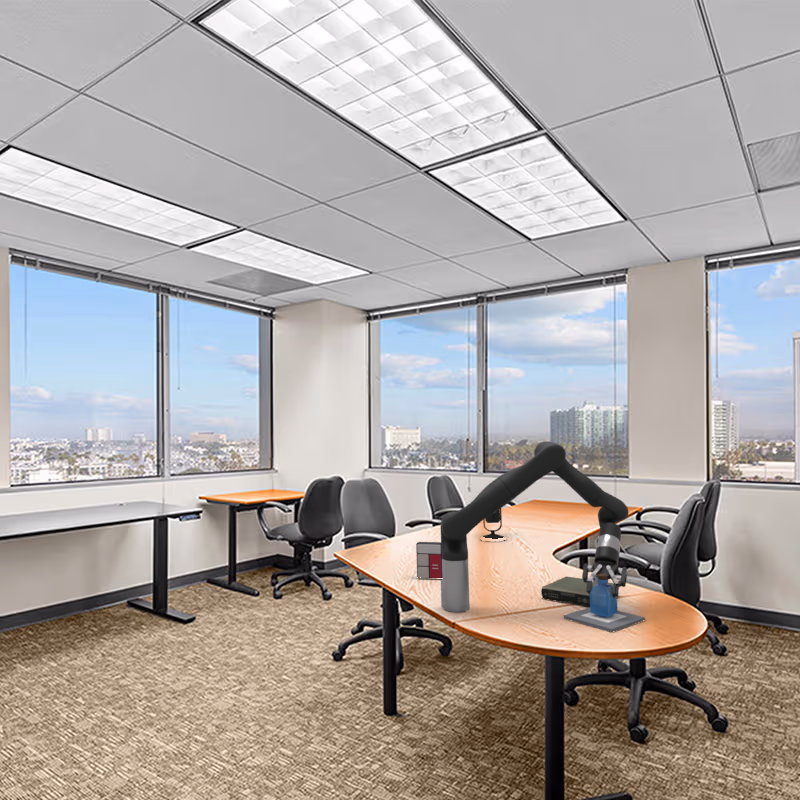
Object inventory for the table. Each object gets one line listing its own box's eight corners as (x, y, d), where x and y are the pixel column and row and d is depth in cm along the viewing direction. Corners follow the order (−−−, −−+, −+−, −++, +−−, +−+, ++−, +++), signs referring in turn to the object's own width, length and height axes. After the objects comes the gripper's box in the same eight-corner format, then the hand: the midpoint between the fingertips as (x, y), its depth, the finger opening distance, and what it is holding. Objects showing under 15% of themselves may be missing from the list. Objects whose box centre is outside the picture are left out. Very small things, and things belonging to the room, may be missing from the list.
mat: (563, 618, 194) (563, 614, 194) (596, 608, 205) (596, 604, 205) (611, 632, 180) (611, 628, 180) (645, 620, 190) (645, 616, 190)
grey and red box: (416, 579, 251) (415, 543, 252) (418, 576, 256) (417, 541, 257) (442, 580, 249) (441, 544, 250) (443, 577, 253) (443, 542, 254)
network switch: (621, 595, 222) (620, 581, 222) (604, 611, 202) (603, 596, 203) (559, 587, 235) (559, 574, 235) (538, 602, 215) (537, 587, 216)
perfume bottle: (590, 612, 192) (588, 575, 193) (599, 608, 197) (597, 571, 197) (608, 616, 188) (607, 578, 189) (617, 612, 192) (615, 574, 193)
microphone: (480, 542, 334) (479, 488, 336) (478, 537, 350) (476, 486, 352) (508, 542, 334) (507, 488, 335) (504, 537, 349) (503, 485, 351)
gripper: (584, 543, 204) (576, 585, 193) (628, 546, 196) (623, 591, 186) (588, 556, 208) (581, 598, 197) (631, 559, 201) (626, 603, 190)
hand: (601, 594), depth 192 cm, fingers closed on perfume bottle, 7 cm apart
